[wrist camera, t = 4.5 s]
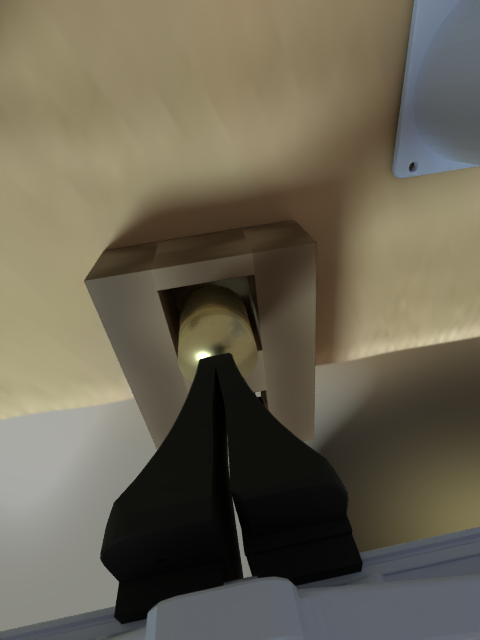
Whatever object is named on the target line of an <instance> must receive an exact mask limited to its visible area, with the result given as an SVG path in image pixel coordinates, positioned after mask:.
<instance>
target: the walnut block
mask: <svg viewBox="0 0 480 640" xmlns="http://www.w3.org/2000/svg"><path fill="white" fill-rule="evenodd" d="M316 246H317V243H316V242H315V241H314V240H313V239H312V238H311V237H310V236H309V235H308V234H307V233H306V232H305V231H304V230H303V229H302V228H301V227H300V226H299V225H298V224H297V223H296V222H295V221H294V220H291V221H284V222H278V223H272V224H266V225H260V226H253V227H247V228H241V229H235V230H229V231H222V232H216V233H210V234H204V235H197V236H191V237H185V238H179V239H173V240H166V241H160V242H154V243H148V244H142V245H135V246H129V247H123V248H117V249H111V250H104V251H103V253H102V254H101V256H100V257H99V259H98V260H97V262H96V263H95V265H94V266H93V268H92V269H91V271H90V272H89V274H88V276H87V277H86V279H85V280H84V282H85V285H86V287H87V289H88V291H89V294H90V296H91V298H92V301H93V303H94V305H95V308H96V310H97V312H98V314H99V317H100V319H101V321H102V324H103V326H104V328H105V331H106V333H107V335H108V338H109V340H110V342H111V344H112V347H113V349H114V351H115V354H116V356H117V358H118V361H119V363H120V365H121V368H122V370H123V372H124V374H125V377H126V379H127V381H128V384H129V386H130V388H131V391H132V393H133V395H134V397H135V400H136V402H137V404H138V407H139V409H140V411H141V413H142V416H143V418H144V420H145V423H146V425H147V427H148V430H149V432H150V434H151V437H152V439H153V441H154V443H155V446H156V448H157V450H158V449H159V447H160V446H161V444H162V442H163V441H164V439H165V438H166V436H167V435H168V433H169V431H170V430H171V428H172V426H173V424H174V423H175V421H176V419H177V417H178V415H179V413H180V411H181V409H182V407H183V405H184V402H185V400H186V398H187V396H188V393H189V390H190V388H191V385H192V382H190V381H189V380H188V379H187V378H186V377H185V376H184V375H183V374H182V372H181V371H180V368H179V366H178V343H179V325H180V320H179V316H178V312H177V309H176V305H175V301H174V298H173V294H172V290H171V288H176V287H182V286H188V285H194V284H200V283H206V282H212V281H218V280H224V279H230V278H236V277H242V276H247V281H248V289H249V297H250V306H251V314H250V315H248V319H249V322H250V326H251V329H252V333H253V336H254V340H255V343H256V347H257V351H258V359H257V363H256V366H255V368H254V369H253V371H252V372H251V373H250V375H249V376H248V377H246V378H245V379H244V380H245V381H246V383H247V384H248V386H249V387H250V388H251V390H252V391H253V392H258V391H261V397H257V398H258V399H259V400H260V401H261V402H262V404H263V405H264V406H265V407H266V408H267V409H268V410H269V411H270V413H271V414H272V415H273V416H274V417H275V418H276V419H277V420H278V421H279V422H280V423H282V424H283V425H284V426H285V427H286V428H287V429H288V430H289V431H291V432H292V433H293V434H294V435H295V436H296V437H298V438H299V439H300V440H301V441H308V440H313V439H314V412H315V411H314V410H315V409H314V407H315V406H314V405H315V329H316ZM227 444H228V442H227ZM228 456H229V451H228Z"/></svg>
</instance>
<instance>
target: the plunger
mask: <svg viewBox="0 0 480 640" xmlns="http://www.w3.org/2000/svg"><path fill="white" fill-rule="evenodd" d="M225 353H231V354H232V355H233V359H234V361H235V364H236V366H237V368H238V369H239V371H240V373H241V375H242V376H243V378H244V379H245V378H246V377H248V376H249V375H250V373H251V372H252V371H253V369H254V368H255V366H256V363H257V359H258V351H257V347H256V343H255V340H254V336H253V333H252V329H251V326H250V322H249V319H248V315H247V312H246V308H245V305H244V302H243V301H242V299H241V298H240V296H239V295H238V294H237V293H235V292H234V291H232V290H231V289H228V288H226V287H222V286H206V287H202V288H200V289H197V290H195V291H194V292H192V293H191V294H190V295H189V296H188V297H187V298H186V299H185V301H184V302H183V304H182V307H181V311H180V325H179V343H178V366H179V368H180V371H181V372H182V374H183V375H184V376H185V377H186V378H187V379H188V380H189V381H190V382H192V383H193V380H194V377H195V374H196V370H197V367H198V362H199V360H200V359H201V358H205V357H210V356H215V355H220V354H225Z"/></svg>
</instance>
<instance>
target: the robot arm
mask: <svg viewBox="0 0 480 640" xmlns="http://www.w3.org/2000/svg"><path fill="white" fill-rule="evenodd" d="M412 162H414V167H413V168H412V170H410V171H409V166H410V164H411V163H412ZM476 166H480V0H414V6H413V13H412V21H411V29H410V36H409V44H408V52H407V59H406V67H405V75H404V82H403V90H402V98H401V105H400V113H399V121H398V128H397V136H396V144H395V152H394V159H393V167H392V173H393V175H394V176H396V177H398V178H407V177H413V176H419V175H426V174H432V173H438V172H445V171H451V170H457V169H464V168H470V167H476ZM227 437H228V444H227ZM228 451H229V466H228ZM229 468H230V476H229ZM232 497H233V499H232ZM233 501H234V504H235V508H236V511H237V515H238V518H239V522H240V525H241V529H242V537H243V545H244V552H245V556H246V557H247V560H248V564H249V566H250V570H251V573H252V577H247V578H243V572H242V564H241V557H240V551H239V543H238V536H237V530H236V522H235V514H234V507H233ZM347 509H348V493H347V491H346V489H345V486H344V485H343V483H342V481H341V480H340V478H339V476H338V474H337V473H336V471H335V470H334V468H333V467H332V466H331V464H330V463H329V462H328V460H327V459H326V458H325V457H323V456H322V455H321V454H319V453H317V452H316V451H315V450H313V449H312V448H311V447H309V446H308V445H306V444H305V443H304V442H303V441H301V440H300V439H299V438H298V437H296V436H295V435H294V434H293V433H292V432H291V431H289V430H288V429H287V428H286V427H285V426H284V425H283V424H282V423H280V422H279V421H278V420H277V419H276V418H275V417H274V416H273V415H272V414H271V413H270V411H269V410H268V409H267V408H266V407H265V406H264V405H263V404H262V402H261V401H260V400H259V399H258V398H257V396H256V395H255V394H254V392H253V391H252V390H251V388H250V387H249V386H248V384H247V383H246V381H245V380H244V378H243V376H242V375H241V373H240V371H239V369H238V368H237V366H236V364H235V361H234V359H233V355H232V354H231V353H225V354H220V355H215V356H210V357H205V358H201V359H200V360H199V362H198V367H197V370H196V374H195V377H194V380H193V383H192V385H191V388H190V390H189V393H188V396H187V398H186V400H185V402H184V405H183V407H182V409H181V411H180V413H179V415H178V417H177V419H176V421H175V423H174V424H173V426H172V428H171V430H170V431H169V433H168V435H167V436H166V438H165V439H164V441H163V442H162V444H161V446H160V447H159V449H158V450H157V452H156V453H155V454H154V456H153V457H152V458H151V460H150V461H149V462H148V464H147V465H146V466H145V468H144V469H143V470H142V472H141V473H140V474H139V475H138V476H137V477H136V479H135V480H134V481H133V482H132V483H131V484H130V486H129V487H128V488H127V489H126V490H125V491H124V492H123V493H122V494H121V495H120V497H119V498H118V499H117V500H116V501H115V502H114V504H113V507H112V510H111V513H110V516H109V519H108V522H107V525H106V530H105V534H104V539H103V544H102V549H101V557H100V559H101V561H102V563H103V565H104V566H105V567H106V568H107V569H108V570H109V571H110V573H111V574H113V576H114V577H115V578H116V579H117V580H118V581H119V588H118V594H117V600H116V606H115V607H110V608H106V609H102V610H96V611H92V612H87V613H83V614H78V615H74V616H69V617H64V618H60V619H55V620H51V621H46V622H42V623H37V624H33V625H28V626H23V627H19V628H14V629H9V630H5V631H0V640H480V527H476V528H472V529H467V530H463V531H458V532H453V533H449V534H444V535H440V536H435V537H430V538H426V539H421V540H417V541H412V542H407V543H403V544H399V545H394V546H389V547H385V548H380V549H375V550H371V551H366V552H362V553H359V551H358V549H357V546H356V544H355V541H354V539H353V536H352V528H351V525H350V522H349V520H348V517H347Z"/></svg>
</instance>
